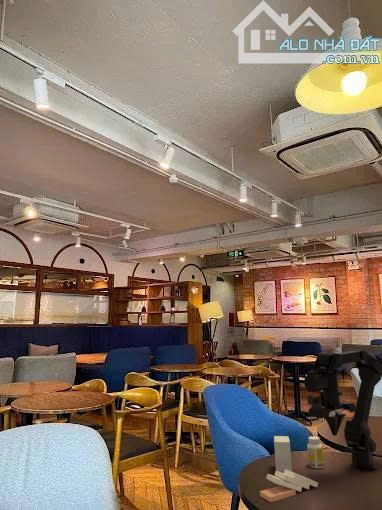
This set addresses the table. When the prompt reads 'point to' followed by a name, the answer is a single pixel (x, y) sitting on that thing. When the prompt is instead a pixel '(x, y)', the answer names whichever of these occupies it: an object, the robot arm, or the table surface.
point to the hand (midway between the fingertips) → (334, 435)
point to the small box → (282, 453)
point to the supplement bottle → (315, 453)
